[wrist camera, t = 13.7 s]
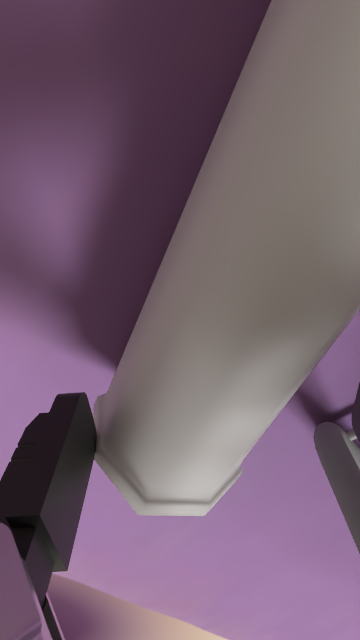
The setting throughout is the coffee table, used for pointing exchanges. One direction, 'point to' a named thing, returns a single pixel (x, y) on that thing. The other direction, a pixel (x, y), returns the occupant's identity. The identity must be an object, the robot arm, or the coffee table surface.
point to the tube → (246, 270)
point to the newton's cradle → (341, 470)
